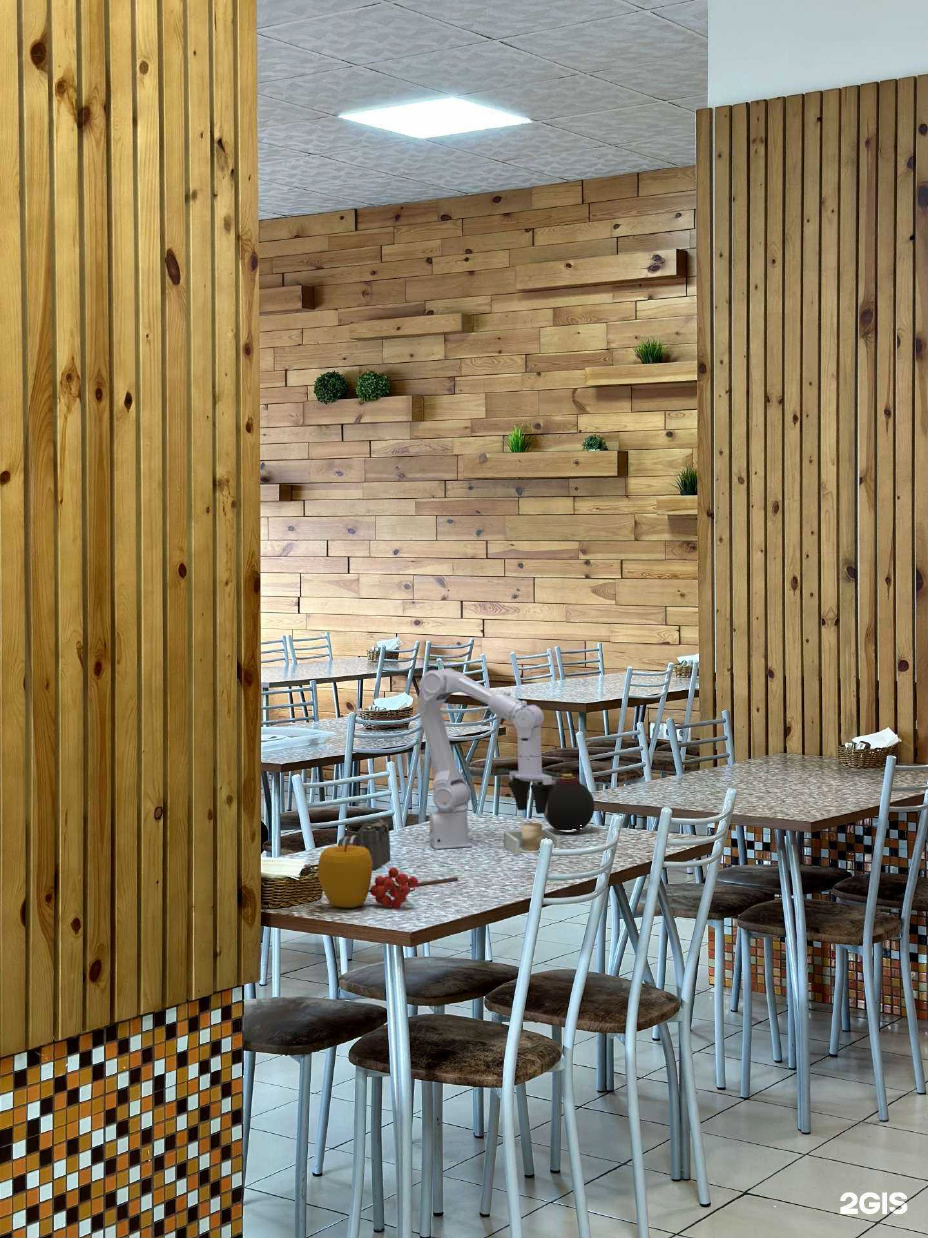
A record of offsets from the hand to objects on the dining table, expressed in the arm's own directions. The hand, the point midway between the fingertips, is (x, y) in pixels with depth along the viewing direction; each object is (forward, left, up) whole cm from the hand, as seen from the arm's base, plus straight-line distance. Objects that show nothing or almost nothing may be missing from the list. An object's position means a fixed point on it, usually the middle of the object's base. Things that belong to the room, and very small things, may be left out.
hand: (531, 811), depth 352 cm
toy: (+15, +21, -10) cm, 27 cm away
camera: (-42, -4, -10) cm, 43 cm away
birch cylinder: (0, 0, -9) cm, 9 cm away
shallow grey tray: (0, +1, -9) cm, 9 cm away
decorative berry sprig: (-36, -39, -10) cm, 54 cm away
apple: (-51, -48, -10) cm, 71 cm away
